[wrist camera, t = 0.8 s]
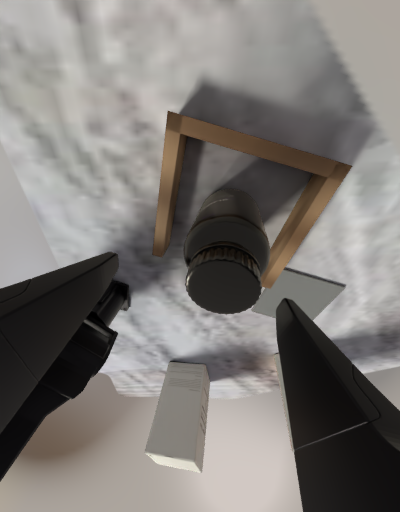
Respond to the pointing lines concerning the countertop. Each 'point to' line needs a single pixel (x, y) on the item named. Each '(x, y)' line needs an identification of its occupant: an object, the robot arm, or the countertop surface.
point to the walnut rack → (323, 169)
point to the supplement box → (181, 418)
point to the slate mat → (298, 294)
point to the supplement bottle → (226, 253)
